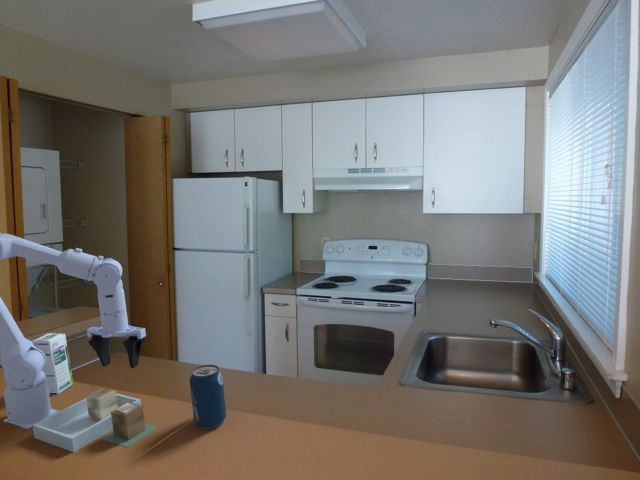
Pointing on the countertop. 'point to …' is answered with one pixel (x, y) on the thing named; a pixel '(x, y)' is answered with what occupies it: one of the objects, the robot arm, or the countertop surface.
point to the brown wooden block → (128, 421)
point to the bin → (75, 425)
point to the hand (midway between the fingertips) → (120, 365)
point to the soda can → (207, 396)
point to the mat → (127, 443)
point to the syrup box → (55, 361)
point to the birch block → (101, 404)
